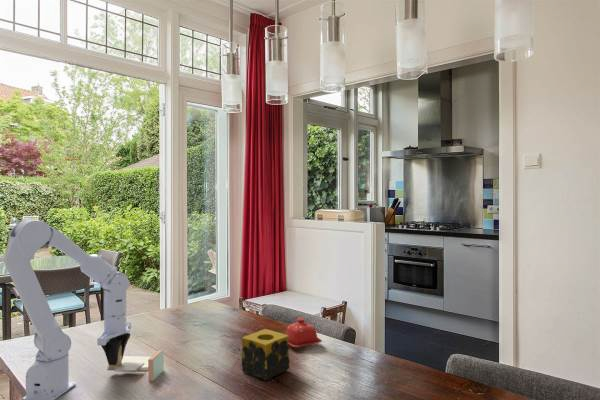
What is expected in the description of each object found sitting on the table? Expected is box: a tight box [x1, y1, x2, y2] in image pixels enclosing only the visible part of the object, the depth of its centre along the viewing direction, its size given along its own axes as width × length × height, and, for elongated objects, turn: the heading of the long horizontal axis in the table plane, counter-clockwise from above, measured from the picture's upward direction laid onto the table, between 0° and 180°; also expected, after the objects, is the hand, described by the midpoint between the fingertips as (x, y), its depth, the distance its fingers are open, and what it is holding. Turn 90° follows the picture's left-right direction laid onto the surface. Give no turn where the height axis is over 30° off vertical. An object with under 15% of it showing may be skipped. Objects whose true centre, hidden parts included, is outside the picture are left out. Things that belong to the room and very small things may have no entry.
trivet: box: [106, 355, 151, 372], centre depth 123 cm, size 8×12×1 cm, turn 85°
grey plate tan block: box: [108, 345, 144, 373], centre depth 116 cm, size 5×8×6 cm, turn 85°
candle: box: [241, 328, 290, 381], centre depth 119 cm, size 10×10×10 cm
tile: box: [147, 349, 165, 382], centre depth 115 cm, size 7×1×6 cm, turn 175°
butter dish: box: [285, 317, 323, 348], centre depth 143 cm, size 12×12×8 cm
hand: (115, 362), depth 116 cm, fingers closed on grey plate tan block, 2 cm apart
